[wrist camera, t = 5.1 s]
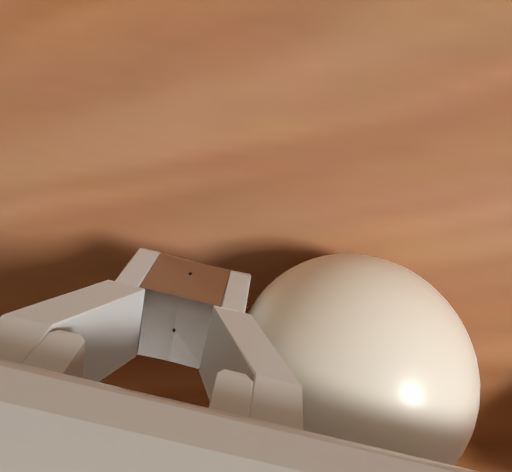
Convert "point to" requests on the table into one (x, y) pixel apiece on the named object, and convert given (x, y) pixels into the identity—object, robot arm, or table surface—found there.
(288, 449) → the robot arm
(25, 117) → the table surface
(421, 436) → the cue ball
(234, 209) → the table surface
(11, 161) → the table surface
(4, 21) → the table surface
